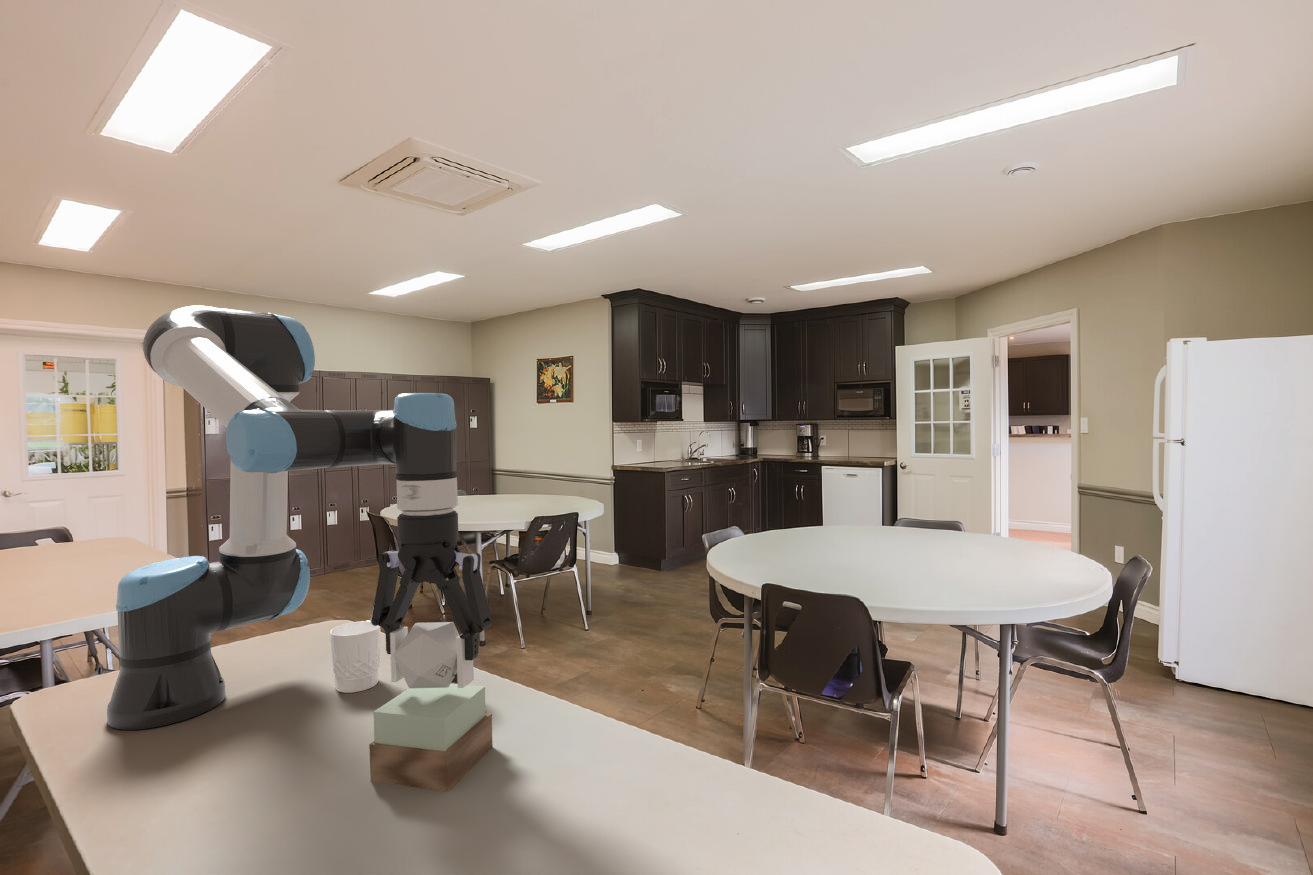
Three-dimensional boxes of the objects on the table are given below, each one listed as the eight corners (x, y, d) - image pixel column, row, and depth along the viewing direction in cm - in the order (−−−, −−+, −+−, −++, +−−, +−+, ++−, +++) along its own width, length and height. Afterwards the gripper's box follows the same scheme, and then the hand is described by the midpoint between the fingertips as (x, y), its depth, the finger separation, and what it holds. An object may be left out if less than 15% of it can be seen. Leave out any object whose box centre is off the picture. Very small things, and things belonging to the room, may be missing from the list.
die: (425, 708, 79) (471, 637, 82) (369, 670, 80) (417, 602, 83) (445, 704, 87) (487, 640, 90) (394, 670, 88) (437, 607, 91)
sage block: (374, 742, 81) (373, 711, 81) (421, 708, 91) (420, 680, 91) (444, 751, 79) (443, 719, 79) (485, 715, 89) (484, 686, 89)
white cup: (366, 672, 117) (364, 618, 117) (391, 682, 112) (389, 625, 112) (322, 687, 111) (321, 630, 110) (347, 698, 106) (345, 638, 106)
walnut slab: (370, 783, 81) (369, 744, 81) (422, 740, 92) (421, 706, 92) (448, 794, 79) (446, 753, 78) (492, 749, 89) (491, 713, 89)
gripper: (336, 513, 84) (342, 685, 84) (489, 516, 78) (493, 699, 79) (375, 505, 91) (379, 664, 91) (516, 508, 86) (520, 675, 86)
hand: (432, 680), depth 85 cm, fingers closed on die, 9 cm apart
